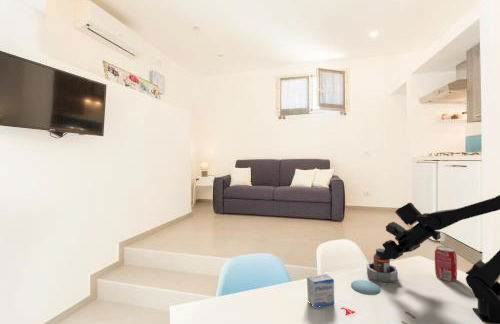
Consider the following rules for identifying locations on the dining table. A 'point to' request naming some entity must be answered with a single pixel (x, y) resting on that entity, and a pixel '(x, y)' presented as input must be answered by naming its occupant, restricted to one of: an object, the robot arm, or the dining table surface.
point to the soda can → (445, 263)
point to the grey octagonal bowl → (382, 274)
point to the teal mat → (365, 287)
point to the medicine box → (320, 290)
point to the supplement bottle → (381, 262)
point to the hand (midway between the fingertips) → (386, 255)
